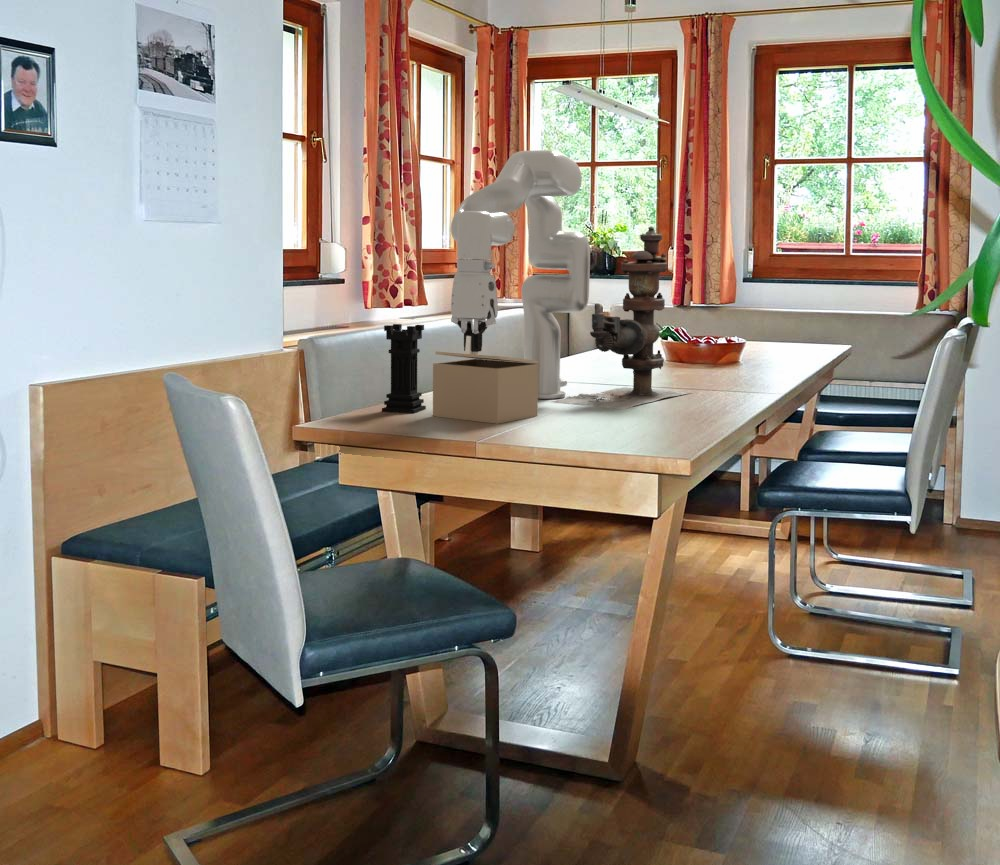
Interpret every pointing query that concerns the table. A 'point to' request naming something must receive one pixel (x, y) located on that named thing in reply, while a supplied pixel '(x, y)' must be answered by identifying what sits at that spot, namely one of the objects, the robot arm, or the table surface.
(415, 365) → the chess piece
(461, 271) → the robot arm
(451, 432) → the table surface
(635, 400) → the valve
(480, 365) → the carton
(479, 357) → the lid flap
